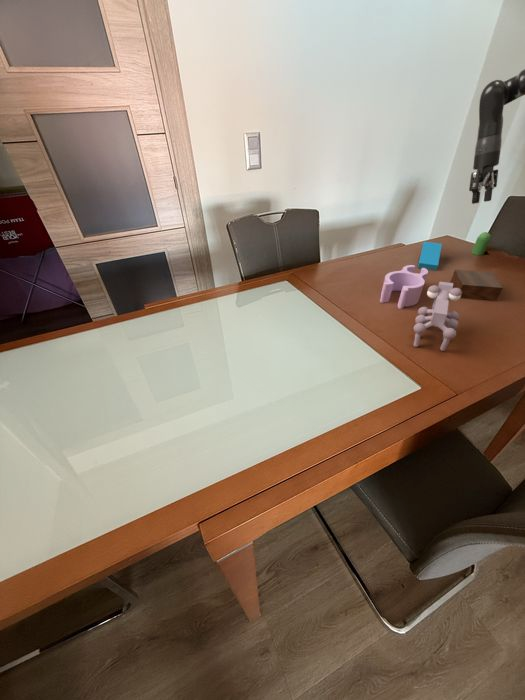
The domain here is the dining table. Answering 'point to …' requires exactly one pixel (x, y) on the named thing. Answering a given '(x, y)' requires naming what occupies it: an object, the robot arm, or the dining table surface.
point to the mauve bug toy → (439, 313)
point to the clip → (404, 285)
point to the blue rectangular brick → (430, 255)
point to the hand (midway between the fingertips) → (481, 202)
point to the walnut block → (477, 284)
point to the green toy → (481, 244)
